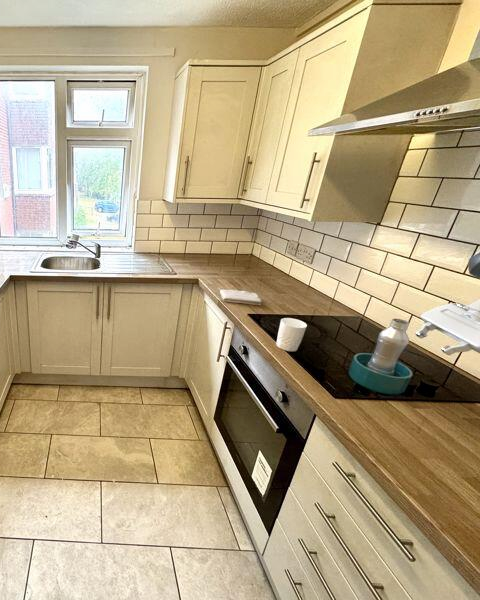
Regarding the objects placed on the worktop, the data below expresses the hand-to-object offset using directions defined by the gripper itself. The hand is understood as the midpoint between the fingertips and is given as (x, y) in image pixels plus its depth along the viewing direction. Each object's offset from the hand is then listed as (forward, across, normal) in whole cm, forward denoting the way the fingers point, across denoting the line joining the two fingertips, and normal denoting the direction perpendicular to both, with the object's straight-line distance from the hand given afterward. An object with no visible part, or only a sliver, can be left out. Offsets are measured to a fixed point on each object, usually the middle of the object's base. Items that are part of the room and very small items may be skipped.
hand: (430, 343), depth 90 cm
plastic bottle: (+16, 0, +3) cm, 17 cm away
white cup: (+30, -17, -10) cm, 36 cm away
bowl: (+17, 0, +4) cm, 17 cm away
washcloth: (+34, -63, -13) cm, 72 cm away
